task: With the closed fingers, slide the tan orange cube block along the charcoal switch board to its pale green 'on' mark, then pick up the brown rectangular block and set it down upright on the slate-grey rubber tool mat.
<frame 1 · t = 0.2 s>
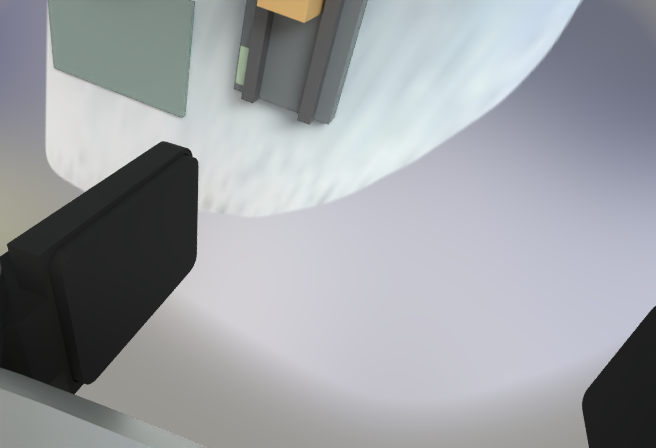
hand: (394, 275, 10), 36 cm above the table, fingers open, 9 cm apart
tool mat: (120, 36, 50), on the table
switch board: (303, 29, 44), on the table
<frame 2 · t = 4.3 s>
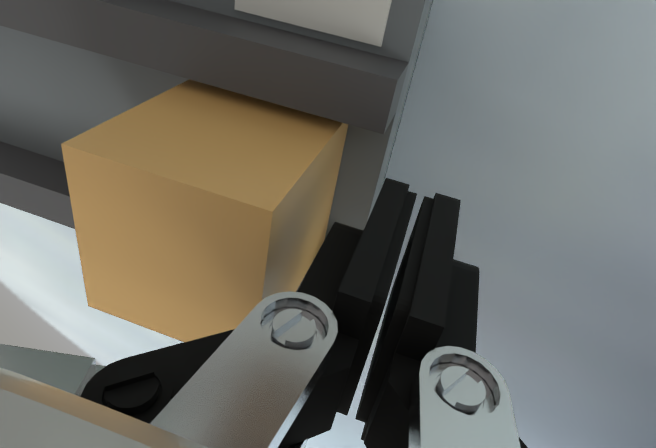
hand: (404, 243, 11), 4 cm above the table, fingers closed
tan orange cube block: (226, 204, 11), point 5 cm above the table, slide at 0.6 cm, touching gripper
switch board: (181, 101, 15), on the table
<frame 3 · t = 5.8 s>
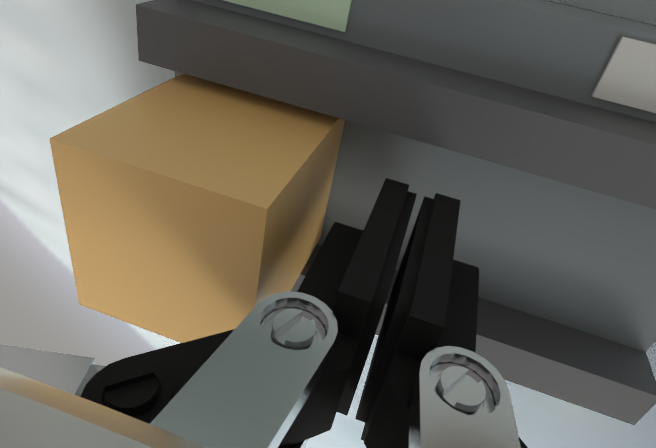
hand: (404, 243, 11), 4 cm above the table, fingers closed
tan orange cube block: (220, 200, 11), point 5 cm above the table, slide at 8.8 cm, touching gripper
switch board: (425, 170, 14), on the table
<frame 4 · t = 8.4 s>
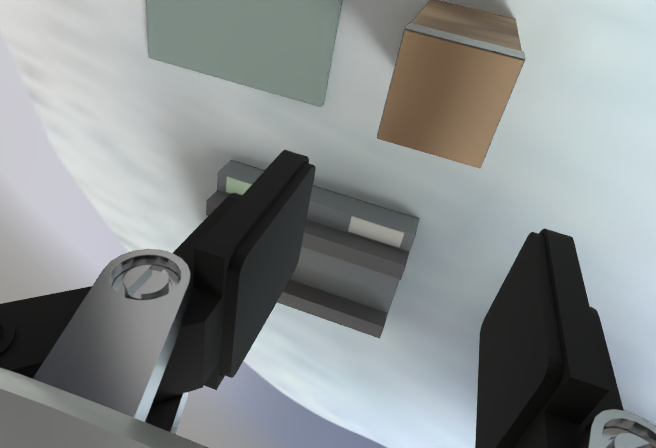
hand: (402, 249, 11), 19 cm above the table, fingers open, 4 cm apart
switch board: (311, 244, 36), on the table
brown rectangular block: (458, 52, 26), on the table
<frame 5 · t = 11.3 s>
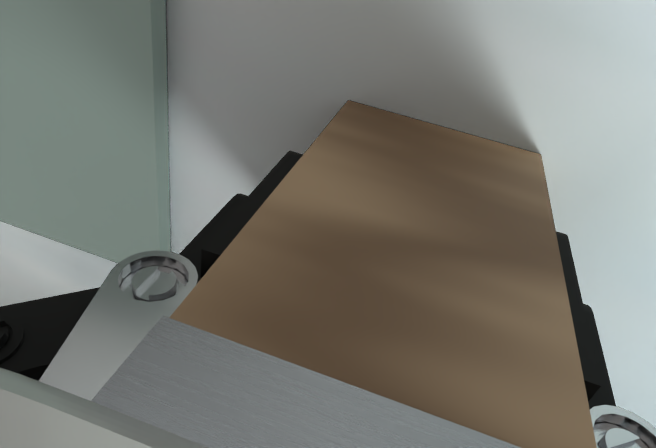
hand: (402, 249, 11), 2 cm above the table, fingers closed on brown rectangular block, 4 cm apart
brown rectangular block: (414, 207, 12), on the table, touching gripper
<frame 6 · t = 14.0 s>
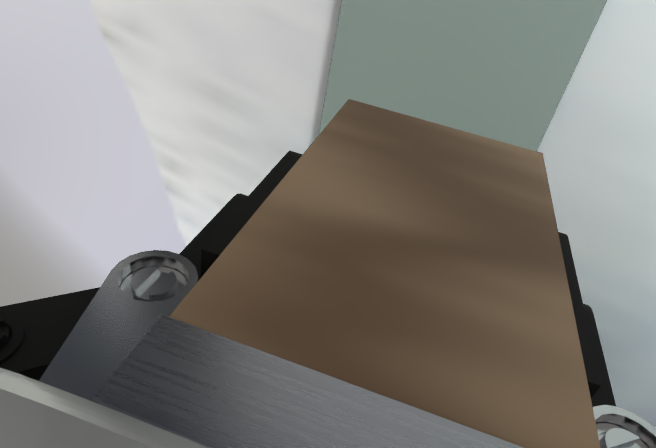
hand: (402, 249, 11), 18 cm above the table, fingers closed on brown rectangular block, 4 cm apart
tool mat: (447, 57, 25), on the table
brown rectangular block: (415, 206, 12), point 16 cm above the table, touching gripper
when the fingers open (4 cm above the table, at t = 17.0 s): brown rectangular block drops 1 cm, resting on tool mat.
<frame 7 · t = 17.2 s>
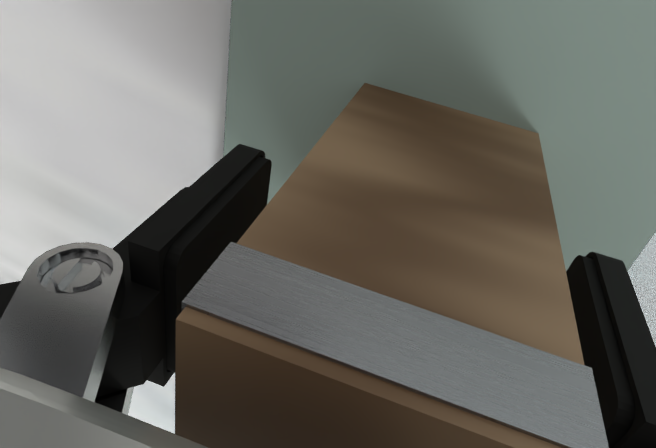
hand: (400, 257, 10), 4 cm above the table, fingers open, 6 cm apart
tool mat: (423, 172, 14), on the table
brown rectangular block: (422, 182, 13), point 1 cm above the table, touching tool mat
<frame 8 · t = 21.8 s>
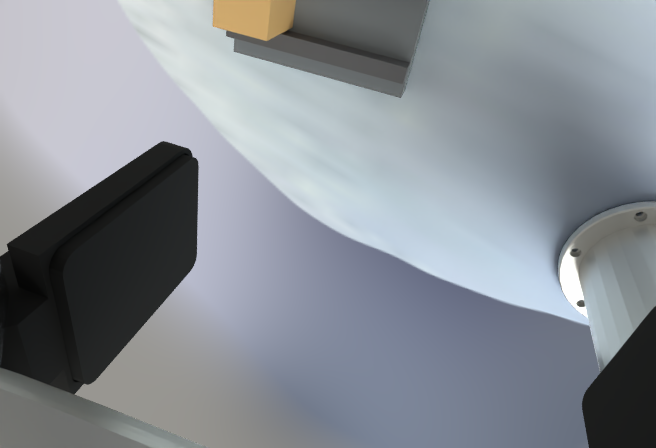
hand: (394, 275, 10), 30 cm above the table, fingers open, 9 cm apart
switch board: (333, 2, 36), on the table
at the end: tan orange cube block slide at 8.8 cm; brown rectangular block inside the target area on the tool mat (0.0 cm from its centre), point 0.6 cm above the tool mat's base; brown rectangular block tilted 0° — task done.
